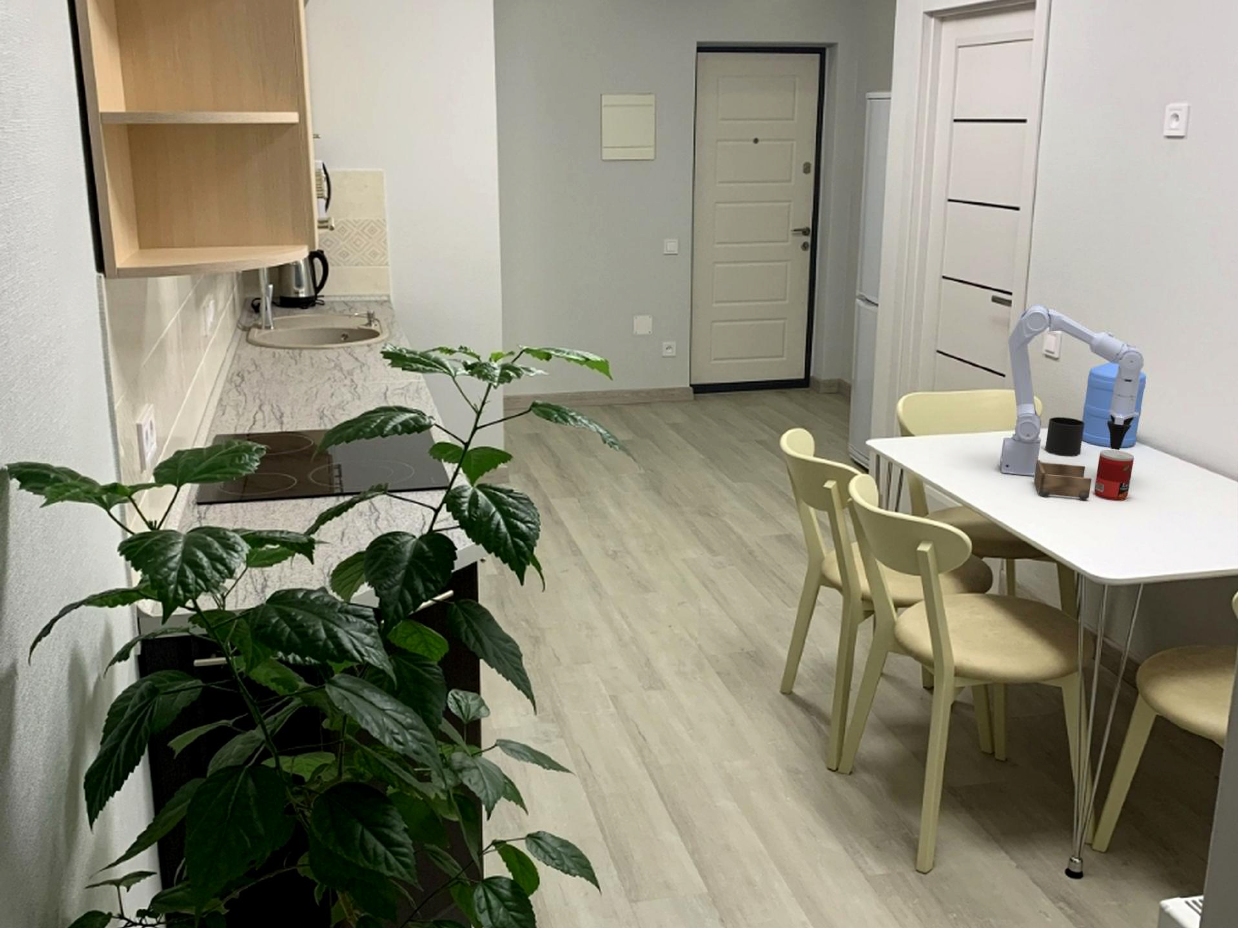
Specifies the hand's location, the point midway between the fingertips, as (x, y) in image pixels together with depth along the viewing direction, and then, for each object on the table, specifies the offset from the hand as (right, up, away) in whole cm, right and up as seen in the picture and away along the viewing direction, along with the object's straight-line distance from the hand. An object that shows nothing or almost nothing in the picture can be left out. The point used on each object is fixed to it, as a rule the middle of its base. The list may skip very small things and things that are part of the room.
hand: (1116, 445), depth 309 cm
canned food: (-5, -13, -8) cm, 16 cm away
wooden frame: (-17, -12, -6) cm, 21 cm away
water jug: (+15, +2, +44) cm, 46 cm away
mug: (-3, -1, +32) cm, 32 cm away
